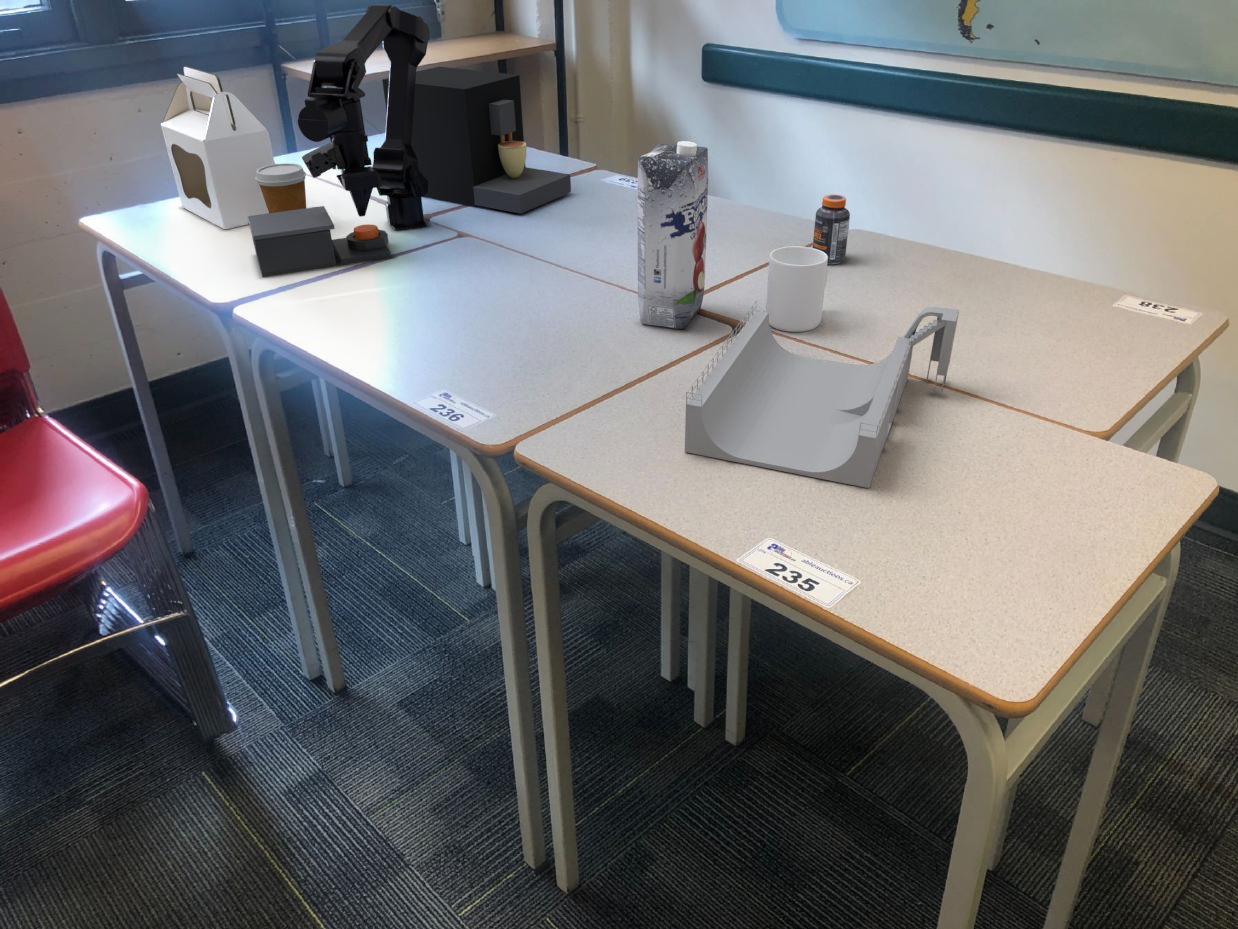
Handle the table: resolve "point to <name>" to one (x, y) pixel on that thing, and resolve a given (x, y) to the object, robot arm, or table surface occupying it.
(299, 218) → the lid
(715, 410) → the skate ramp
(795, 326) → the mug
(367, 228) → the button
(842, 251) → the pill bottle
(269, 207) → the disposable coffee cup
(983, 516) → the table surface
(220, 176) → the gable box
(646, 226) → the juice carton
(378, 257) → the button base
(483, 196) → the coffee maker
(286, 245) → the dark grey boxy piece
